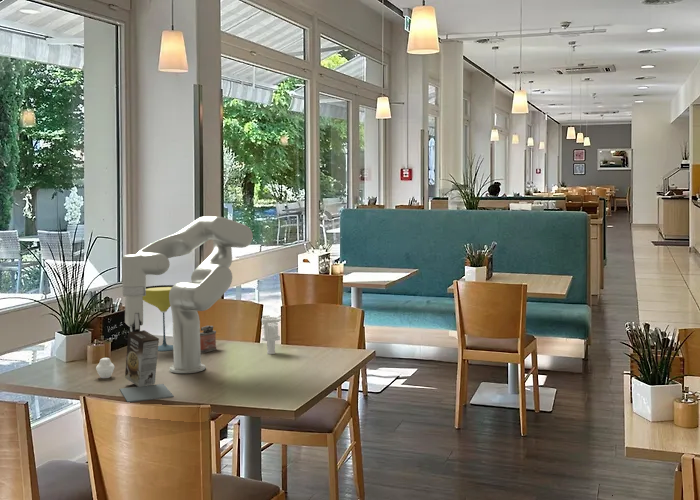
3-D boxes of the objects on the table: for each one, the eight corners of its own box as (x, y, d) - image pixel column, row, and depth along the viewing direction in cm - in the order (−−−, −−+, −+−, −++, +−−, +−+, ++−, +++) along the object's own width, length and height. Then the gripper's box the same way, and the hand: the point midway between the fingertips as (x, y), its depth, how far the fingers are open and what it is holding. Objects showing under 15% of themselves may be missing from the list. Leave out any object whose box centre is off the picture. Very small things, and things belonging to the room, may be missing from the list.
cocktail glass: (152, 343, 323) (150, 284, 321) (193, 344, 321) (191, 285, 319) (134, 352, 305) (132, 290, 303) (177, 353, 303) (176, 290, 301)
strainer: (268, 350, 306) (267, 313, 305) (283, 352, 303) (282, 314, 302) (258, 354, 300) (258, 316, 299) (274, 355, 297) (273, 317, 296)
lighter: (212, 348, 313) (211, 324, 312) (218, 349, 311) (217, 324, 310) (197, 351, 306) (197, 327, 305) (203, 352, 304) (203, 327, 303)
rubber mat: (119, 389, 248) (119, 388, 248) (163, 384, 254) (163, 383, 254) (127, 402, 233) (127, 401, 233) (173, 396, 239) (173, 395, 239)
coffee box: (123, 378, 255) (127, 332, 252) (140, 374, 260) (144, 329, 256) (138, 387, 249) (142, 340, 246) (155, 383, 254) (159, 337, 250)
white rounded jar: (95, 376, 267) (94, 356, 266) (113, 374, 269) (113, 354, 269) (97, 380, 261) (96, 360, 261) (115, 378, 264) (115, 358, 263)
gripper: (119, 289, 261) (121, 342, 263) (125, 294, 248) (126, 350, 249) (142, 288, 264) (143, 341, 266) (149, 293, 251) (150, 348, 252)
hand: (135, 345), depth 257 cm, fingers closed
